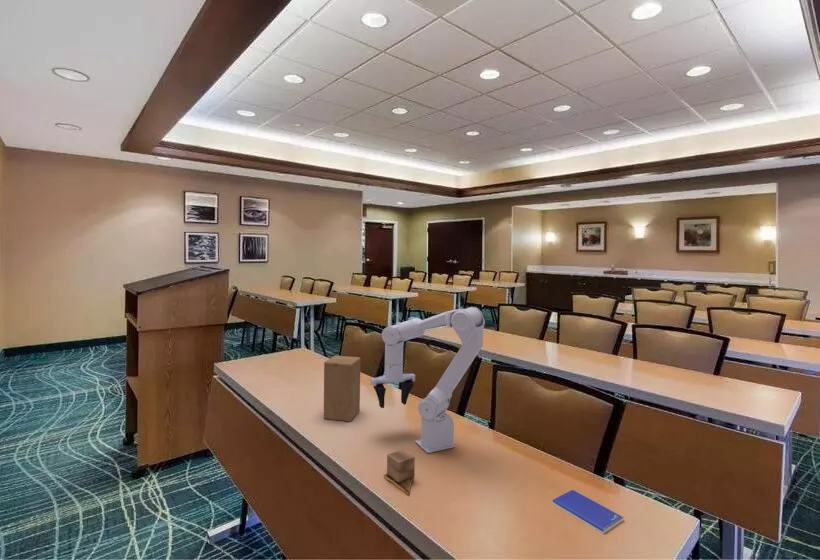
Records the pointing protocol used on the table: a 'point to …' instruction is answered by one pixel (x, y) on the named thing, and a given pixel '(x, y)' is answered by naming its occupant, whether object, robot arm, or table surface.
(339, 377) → the wooden block
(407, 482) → the shard
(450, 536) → the table surface
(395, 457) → the walnut cube
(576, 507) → the hard drive
